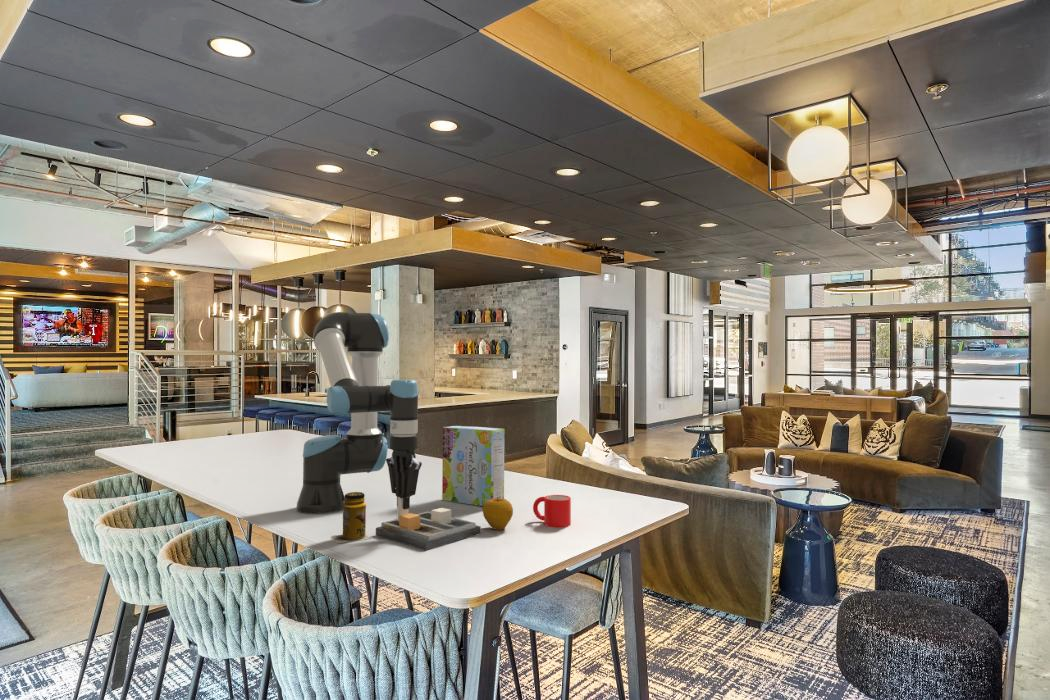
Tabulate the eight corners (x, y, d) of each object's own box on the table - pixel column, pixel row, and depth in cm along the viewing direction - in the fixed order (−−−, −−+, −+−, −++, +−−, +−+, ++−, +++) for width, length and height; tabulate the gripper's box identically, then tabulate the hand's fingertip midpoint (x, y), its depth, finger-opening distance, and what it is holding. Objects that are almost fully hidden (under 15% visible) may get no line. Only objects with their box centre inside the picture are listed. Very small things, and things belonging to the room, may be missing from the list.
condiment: (370, 538, 163) (370, 494, 163) (338, 544, 158) (339, 498, 158) (361, 532, 169) (362, 489, 169) (331, 537, 164) (331, 493, 164)
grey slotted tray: (375, 535, 166) (375, 523, 166) (430, 520, 181) (430, 510, 181) (425, 550, 153) (425, 537, 153) (480, 533, 168) (480, 522, 168)
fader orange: (399, 528, 164) (399, 515, 164) (410, 525, 167) (410, 513, 167) (408, 531, 162) (408, 518, 162) (420, 528, 165) (420, 515, 165)
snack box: (506, 503, 204) (506, 428, 205) (491, 508, 197) (491, 430, 198) (456, 496, 216) (456, 424, 217) (440, 500, 209) (440, 426, 209)
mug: (537, 517, 186) (537, 492, 186) (574, 522, 181) (574, 496, 181) (527, 524, 179) (527, 497, 179) (565, 528, 174) (565, 501, 174)
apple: (477, 526, 176) (477, 495, 176) (506, 523, 179) (506, 493, 179) (488, 534, 167) (488, 502, 168) (517, 531, 171) (517, 499, 171)
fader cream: (431, 522, 171) (431, 510, 171) (441, 519, 174) (441, 507, 174) (440, 525, 168) (440, 512, 168) (451, 522, 171) (451, 509, 171)
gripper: (378, 434, 168) (377, 519, 168) (408, 438, 160) (407, 527, 159) (399, 432, 174) (399, 514, 173) (429, 435, 166) (428, 521, 165)
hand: (403, 520), depth 166 cm, fingers closed
